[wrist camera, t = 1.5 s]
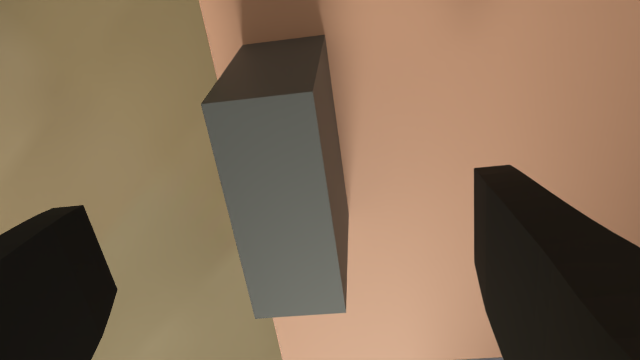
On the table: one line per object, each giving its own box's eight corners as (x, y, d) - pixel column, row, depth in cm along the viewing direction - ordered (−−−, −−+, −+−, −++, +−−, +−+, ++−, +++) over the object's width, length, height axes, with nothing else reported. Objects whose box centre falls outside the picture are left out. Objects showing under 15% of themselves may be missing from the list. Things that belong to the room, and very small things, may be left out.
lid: (813, 321, 17) (961, 464, 13) (287, 350, 19) (267, 484, 15) (1083, -415, 9) (1667, -654, 5) (155, -240, 11) (35, -309, 7)
